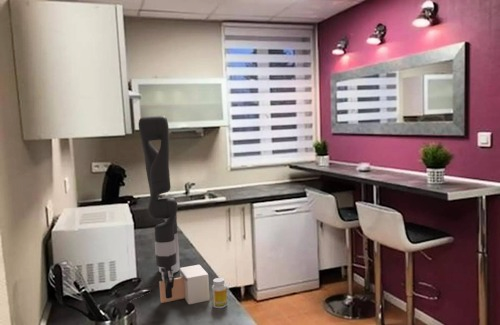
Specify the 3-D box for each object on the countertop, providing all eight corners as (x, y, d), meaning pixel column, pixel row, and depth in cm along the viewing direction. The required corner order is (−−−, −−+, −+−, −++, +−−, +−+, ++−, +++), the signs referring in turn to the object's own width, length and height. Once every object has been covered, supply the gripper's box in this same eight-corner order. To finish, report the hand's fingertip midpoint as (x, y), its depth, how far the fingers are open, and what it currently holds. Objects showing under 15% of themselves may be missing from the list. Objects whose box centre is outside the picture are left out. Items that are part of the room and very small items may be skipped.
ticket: (160, 301, 158) (159, 281, 157) (197, 294, 163) (195, 274, 162) (161, 302, 157) (159, 282, 156) (197, 295, 162) (196, 275, 162)
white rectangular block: (180, 292, 166) (178, 268, 165) (200, 288, 170) (199, 264, 168) (187, 304, 155) (186, 278, 154) (209, 300, 158) (208, 274, 157)
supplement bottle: (209, 305, 154) (207, 280, 153) (220, 300, 157) (218, 275, 156) (219, 310, 150) (218, 283, 149) (230, 304, 154) (229, 279, 153)
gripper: (152, 248, 161) (155, 292, 163) (158, 258, 149) (162, 306, 151) (171, 245, 164) (174, 288, 166) (179, 255, 152) (182, 301, 154)
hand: (168, 296), depth 158 cm, fingers closed
